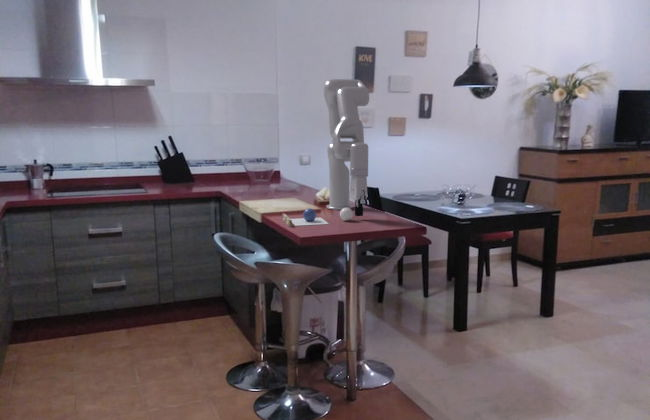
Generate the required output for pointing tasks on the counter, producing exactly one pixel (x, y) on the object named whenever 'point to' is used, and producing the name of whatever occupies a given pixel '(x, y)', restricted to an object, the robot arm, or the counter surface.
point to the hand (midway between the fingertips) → (358, 215)
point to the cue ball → (346, 214)
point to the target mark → (303, 222)
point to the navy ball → (309, 214)
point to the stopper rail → (287, 220)
